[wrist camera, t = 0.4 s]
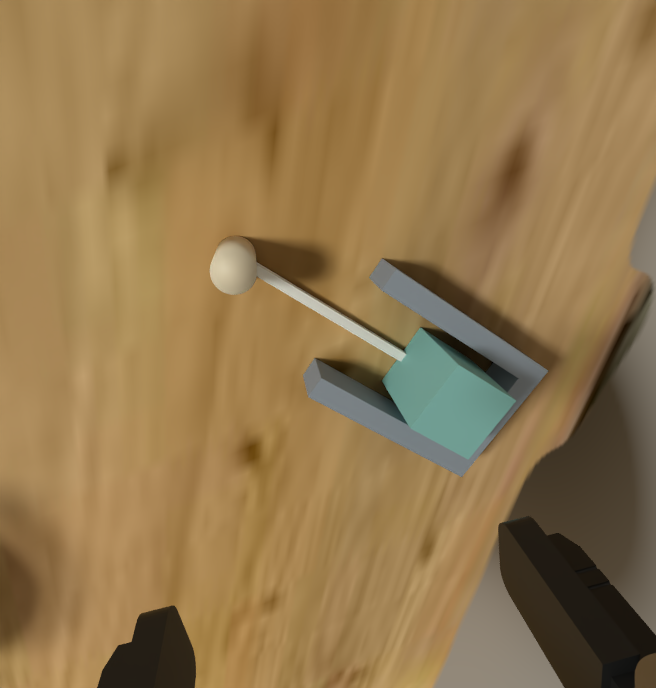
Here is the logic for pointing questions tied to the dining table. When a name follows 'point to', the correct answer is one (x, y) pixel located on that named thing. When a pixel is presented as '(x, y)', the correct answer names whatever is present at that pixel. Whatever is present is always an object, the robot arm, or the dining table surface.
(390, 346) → the tethered block
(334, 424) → the dining table surface
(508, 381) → the lane
